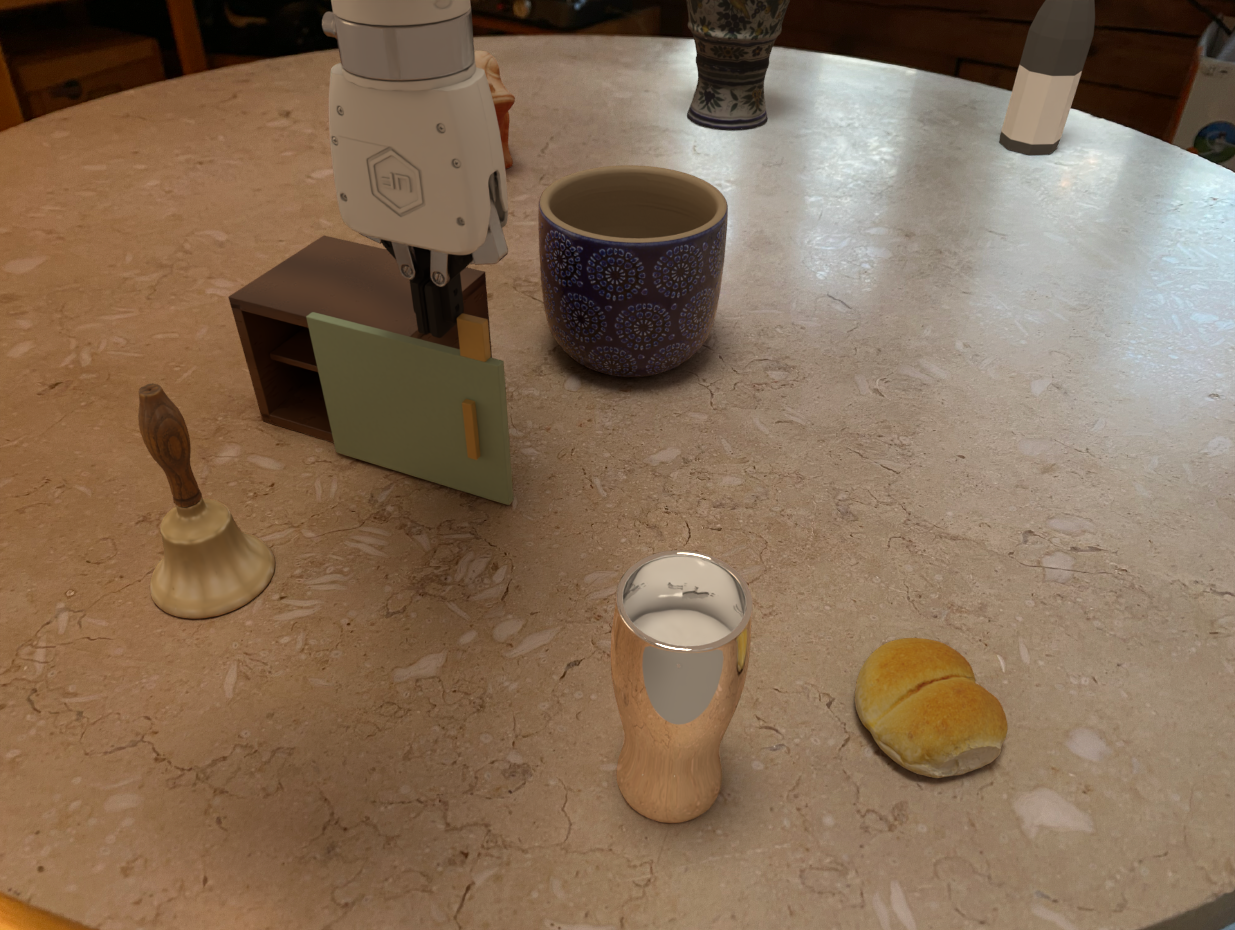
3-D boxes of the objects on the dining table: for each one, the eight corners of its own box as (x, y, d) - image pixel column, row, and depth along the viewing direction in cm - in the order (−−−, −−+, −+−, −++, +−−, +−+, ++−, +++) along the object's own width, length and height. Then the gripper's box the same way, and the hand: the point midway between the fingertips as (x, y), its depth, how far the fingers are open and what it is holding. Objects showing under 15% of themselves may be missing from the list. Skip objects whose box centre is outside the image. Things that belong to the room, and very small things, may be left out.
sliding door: (505, 510, 71) (490, 332, 61) (331, 456, 76) (291, 283, 66) (514, 499, 72) (501, 322, 62) (341, 447, 77) (304, 274, 67)
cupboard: (422, 470, 75) (403, 341, 68) (262, 421, 80) (227, 296, 73) (495, 392, 84) (485, 271, 77) (346, 353, 89) (323, 235, 81)
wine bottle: (998, 151, 132) (1066, -94, 113) (997, 132, 138) (1062, -103, 119) (1059, 159, 130) (1138, -89, 111) (1055, 139, 136) (1130, -99, 118)
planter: (692, 411, 82) (705, 255, 73) (517, 377, 86) (507, 225, 77) (730, 320, 95) (746, 177, 85) (575, 294, 98) (574, 154, 89)
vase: (672, 96, 149) (683, -126, 130) (781, 101, 148) (808, -122, 129) (666, 132, 136) (677, -108, 117) (785, 138, 135) (816, -103, 116)
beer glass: (603, 729, 57) (604, 550, 47) (716, 720, 57) (740, 541, 48) (615, 837, 51) (619, 660, 42) (740, 825, 52) (772, 648, 42)
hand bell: (293, 539, 69) (241, 354, 59) (247, 624, 63) (181, 434, 53) (184, 530, 70) (115, 346, 59) (128, 614, 63) (40, 423, 53)
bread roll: (938, 647, 62) (953, 606, 59) (1021, 761, 55) (1042, 720, 53) (825, 675, 60) (836, 633, 57) (897, 796, 53) (912, 755, 51)
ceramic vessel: (442, 198, 117) (428, 73, 107) (373, 132, 134) (356, 20, 125) (542, 178, 122) (537, 57, 113) (463, 117, 140) (453, 8, 130)
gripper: (255, 44, 52) (317, 329, 64) (491, 81, 48) (511, 379, 60) (336, 13, 58) (379, 280, 69) (555, 43, 53) (562, 323, 65)
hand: (440, 325), depth 64 cm, fingers closed
